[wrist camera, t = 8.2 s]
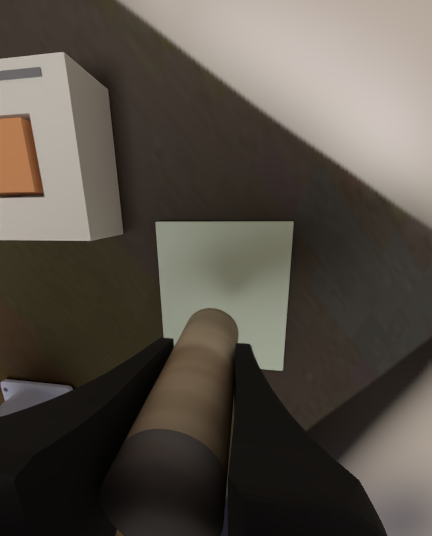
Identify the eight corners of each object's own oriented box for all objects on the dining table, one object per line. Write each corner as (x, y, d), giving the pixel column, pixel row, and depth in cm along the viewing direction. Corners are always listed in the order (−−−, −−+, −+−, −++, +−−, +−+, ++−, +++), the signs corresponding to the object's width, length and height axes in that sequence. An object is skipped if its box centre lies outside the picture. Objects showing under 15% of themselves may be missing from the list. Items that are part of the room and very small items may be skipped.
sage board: (281, 366, 19) (282, 370, 19) (167, 356, 21) (165, 361, 20) (292, 221, 17) (293, 221, 16) (158, 221, 18) (155, 221, 17)
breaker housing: (123, 234, 18) (89, 241, 15) (14, 233, 20) (-44, 239, 16) (107, 89, 16) (62, 50, 12) (-16, 99, 17) (-93, 67, 13)
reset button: (69, 194, 17) (34, 191, 14) (20, 195, 17) (-22, 192, 15) (59, 132, 16) (20, 117, 13) (8, 135, 16) (-40, 121, 14)
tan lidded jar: (239, 356, 13) (226, 563, 6) (188, 354, 14) (111, 544, 6) (237, 308, 12) (219, 470, 5) (183, 308, 13) (88, 456, 5)
